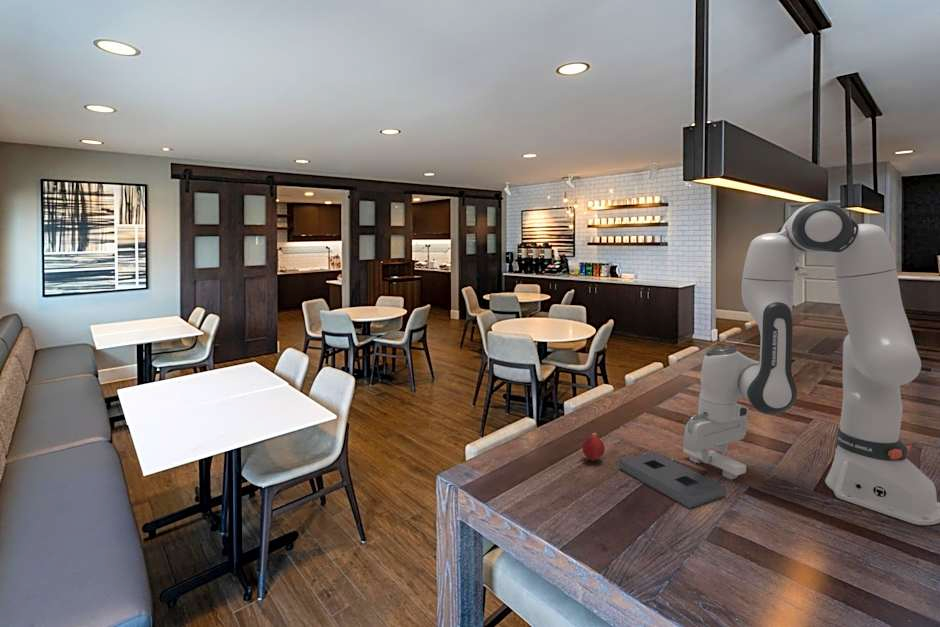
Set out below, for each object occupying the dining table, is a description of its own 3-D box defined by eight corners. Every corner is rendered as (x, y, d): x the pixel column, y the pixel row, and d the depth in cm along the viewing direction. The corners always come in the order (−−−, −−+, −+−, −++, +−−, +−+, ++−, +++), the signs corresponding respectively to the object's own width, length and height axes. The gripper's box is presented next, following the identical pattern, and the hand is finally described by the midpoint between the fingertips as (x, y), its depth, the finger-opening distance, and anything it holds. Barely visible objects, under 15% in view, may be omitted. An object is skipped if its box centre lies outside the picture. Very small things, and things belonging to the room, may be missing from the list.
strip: (745, 480, 126) (746, 465, 126) (736, 483, 125) (737, 468, 124) (691, 455, 141) (692, 442, 140) (682, 458, 139) (683, 444, 138)
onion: (588, 466, 134) (589, 438, 133) (578, 457, 139) (579, 430, 138) (607, 464, 135) (609, 435, 134) (597, 455, 141) (598, 428, 140)
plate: (725, 496, 119) (725, 486, 118) (689, 508, 113) (690, 498, 113) (652, 459, 138) (653, 451, 137) (619, 469, 132) (620, 460, 132)
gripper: (700, 420, 123) (696, 473, 125) (753, 407, 132) (748, 457, 134) (678, 412, 128) (675, 463, 130) (731, 400, 138) (727, 448, 140)
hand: (713, 460), depth 132 cm, fingers closed on strip, 3 cm apart
